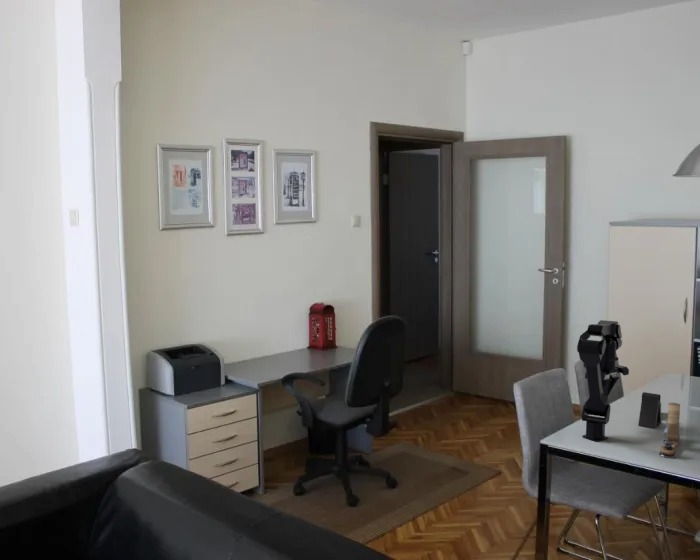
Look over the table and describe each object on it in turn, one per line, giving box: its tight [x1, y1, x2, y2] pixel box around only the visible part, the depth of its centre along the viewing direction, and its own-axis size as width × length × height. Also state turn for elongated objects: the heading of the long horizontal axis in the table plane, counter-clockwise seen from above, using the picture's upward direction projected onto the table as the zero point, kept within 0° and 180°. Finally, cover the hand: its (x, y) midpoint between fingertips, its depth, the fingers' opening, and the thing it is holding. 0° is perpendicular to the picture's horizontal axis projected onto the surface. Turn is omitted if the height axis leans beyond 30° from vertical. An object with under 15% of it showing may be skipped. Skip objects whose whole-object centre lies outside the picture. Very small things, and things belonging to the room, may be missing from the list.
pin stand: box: [658, 439, 678, 459], centre depth 240 cm, size 6×6×5 cm
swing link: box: [659, 402, 681, 456], centre depth 245 cm, size 18×5×14 cm, turn 148°
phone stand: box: [637, 391, 662, 430], centre depth 273 cm, size 9×6×12 cm, turn 141°
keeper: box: [663, 420, 681, 441], centre depth 254 cm, size 7×4×6 cm, turn 150°
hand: (606, 395), depth 270 cm, fingers closed
